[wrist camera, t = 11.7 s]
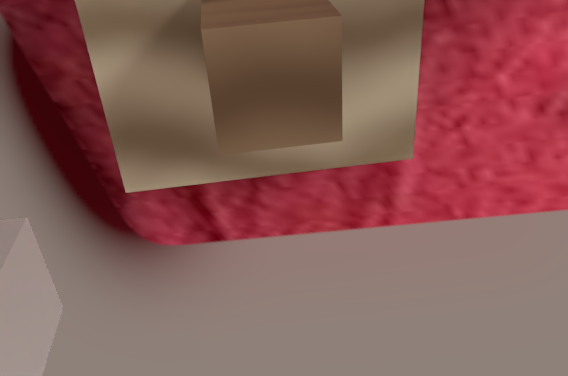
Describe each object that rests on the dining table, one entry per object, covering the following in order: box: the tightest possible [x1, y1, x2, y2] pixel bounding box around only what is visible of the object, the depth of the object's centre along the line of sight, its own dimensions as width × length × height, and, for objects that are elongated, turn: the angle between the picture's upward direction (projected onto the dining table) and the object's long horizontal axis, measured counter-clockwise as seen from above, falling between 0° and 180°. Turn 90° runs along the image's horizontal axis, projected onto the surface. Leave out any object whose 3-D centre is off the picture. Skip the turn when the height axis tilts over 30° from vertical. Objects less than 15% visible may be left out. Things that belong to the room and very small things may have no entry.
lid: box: [75, 0, 424, 193], centre depth 24 cm, size 17×17×9 cm
